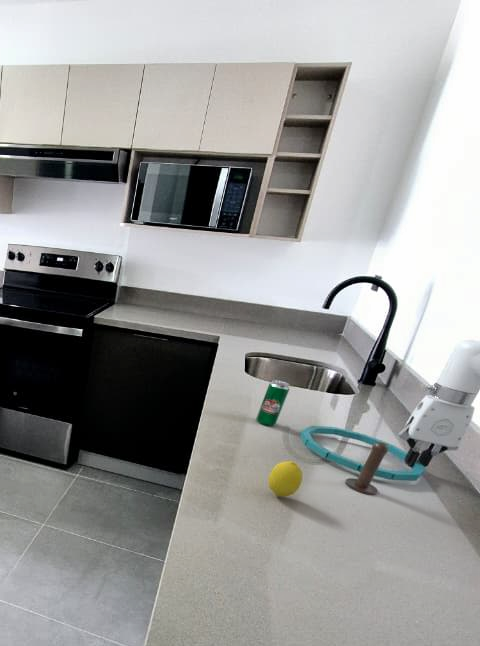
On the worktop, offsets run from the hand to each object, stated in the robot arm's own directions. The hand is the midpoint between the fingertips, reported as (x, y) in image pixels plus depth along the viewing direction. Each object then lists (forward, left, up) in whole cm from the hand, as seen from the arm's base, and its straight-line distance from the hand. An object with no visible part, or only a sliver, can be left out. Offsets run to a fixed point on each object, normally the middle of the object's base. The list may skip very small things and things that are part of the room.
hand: (414, 465), depth 121 cm
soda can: (+32, -11, -2) cm, 34 cm away
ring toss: (+16, +19, -2) cm, 25 cm away
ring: (+12, 0, 0) cm, 12 cm away
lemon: (+35, +35, -2) cm, 50 cm away
